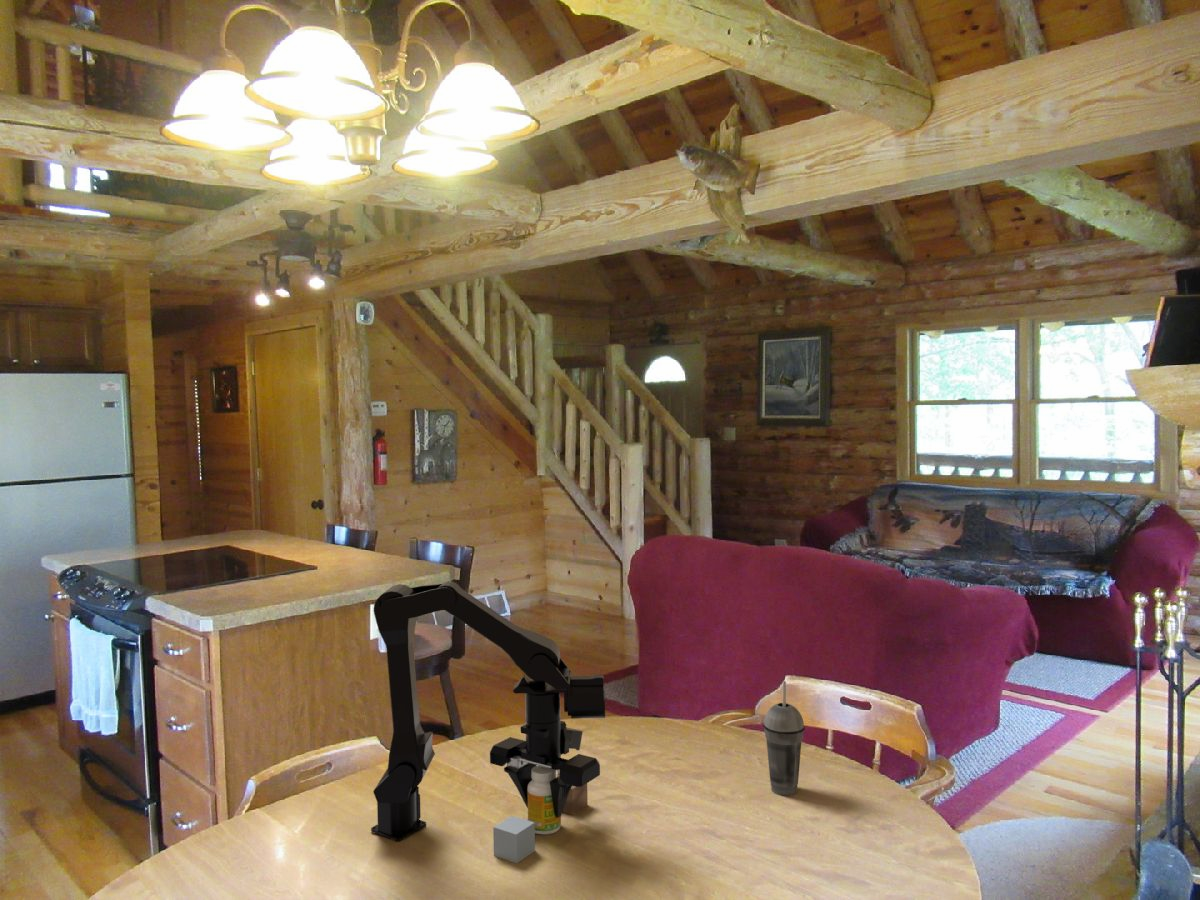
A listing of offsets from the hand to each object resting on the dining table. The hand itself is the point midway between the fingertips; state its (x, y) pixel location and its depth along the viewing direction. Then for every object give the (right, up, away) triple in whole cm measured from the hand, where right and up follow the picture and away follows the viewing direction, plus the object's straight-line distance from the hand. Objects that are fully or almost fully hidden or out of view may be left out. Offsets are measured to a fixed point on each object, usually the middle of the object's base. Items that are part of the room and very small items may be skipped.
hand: (544, 812), depth 140 cm
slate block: (-4, -3, -8) cm, 9 cm away
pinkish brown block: (+4, -2, +8) cm, 9 cm away
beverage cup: (+42, -2, +13) cm, 44 cm away
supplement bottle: (0, -3, 0) cm, 3 cm away
